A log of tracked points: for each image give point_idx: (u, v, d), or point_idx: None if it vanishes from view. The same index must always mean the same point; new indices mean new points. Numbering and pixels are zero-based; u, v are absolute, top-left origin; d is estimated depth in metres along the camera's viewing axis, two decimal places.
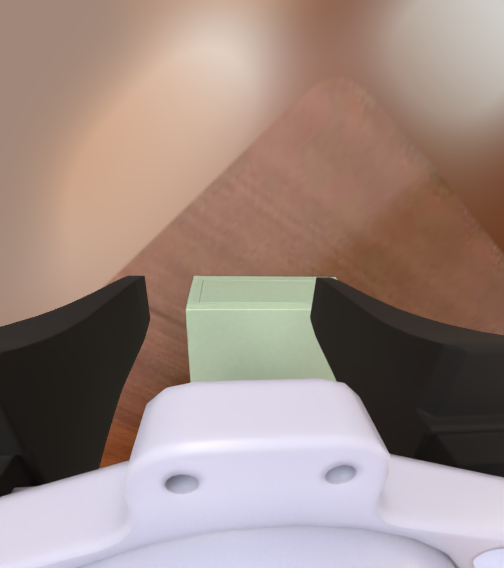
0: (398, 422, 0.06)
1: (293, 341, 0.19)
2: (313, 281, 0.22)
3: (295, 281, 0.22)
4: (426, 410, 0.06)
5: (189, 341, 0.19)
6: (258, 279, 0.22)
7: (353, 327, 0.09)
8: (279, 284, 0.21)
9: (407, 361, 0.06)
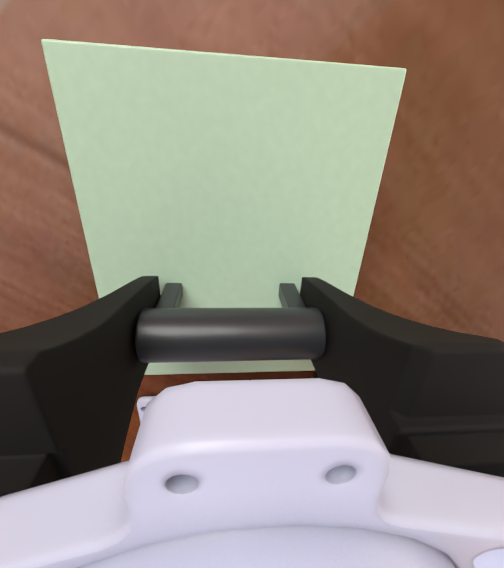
0: None
1: (273, 147, 0.10)
2: None
3: None
4: (398, 411, 0.06)
5: (64, 133, 0.09)
6: None
7: (334, 327, 0.09)
8: None
9: (380, 362, 0.06)
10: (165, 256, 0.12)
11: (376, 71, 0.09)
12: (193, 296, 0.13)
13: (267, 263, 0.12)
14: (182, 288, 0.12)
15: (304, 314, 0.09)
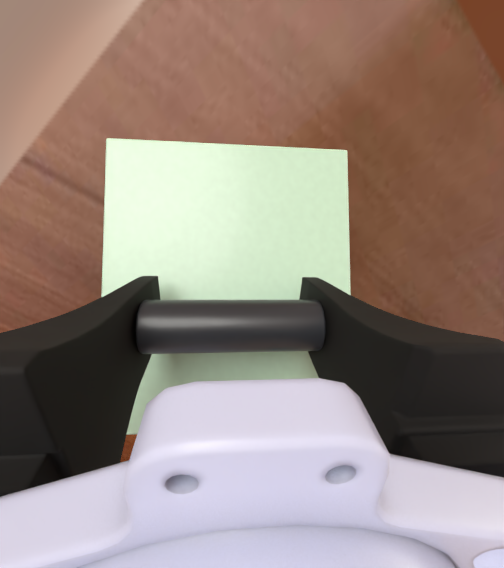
0: (373, 423, 0.06)
1: (262, 197, 0.13)
2: None
3: None
4: (399, 411, 0.06)
5: (106, 190, 0.13)
6: None
7: (334, 327, 0.09)
8: None
9: (381, 362, 0.06)
10: (170, 286, 0.13)
11: (327, 152, 0.14)
12: None
13: (264, 291, 0.13)
14: None
15: (300, 300, 0.10)
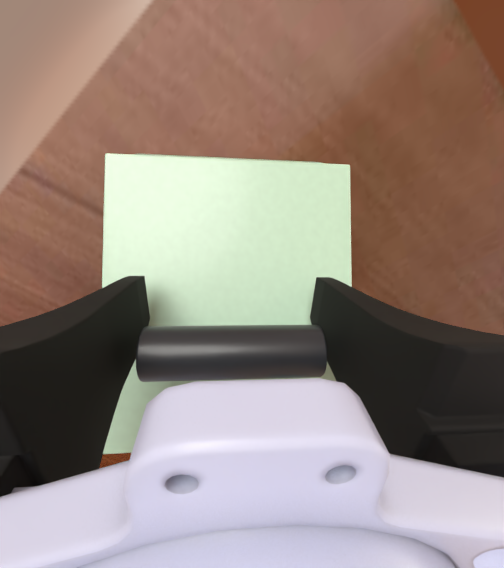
0: (398, 422, 0.06)
1: (263, 213, 0.13)
2: (290, 161, 0.17)
3: (267, 160, 0.17)
4: (426, 410, 0.06)
5: (106, 206, 0.13)
6: None
7: (353, 327, 0.09)
8: None
9: (407, 361, 0.06)
10: (171, 304, 0.13)
11: (329, 166, 0.14)
12: None
13: (265, 309, 0.13)
14: None
15: (302, 326, 0.10)
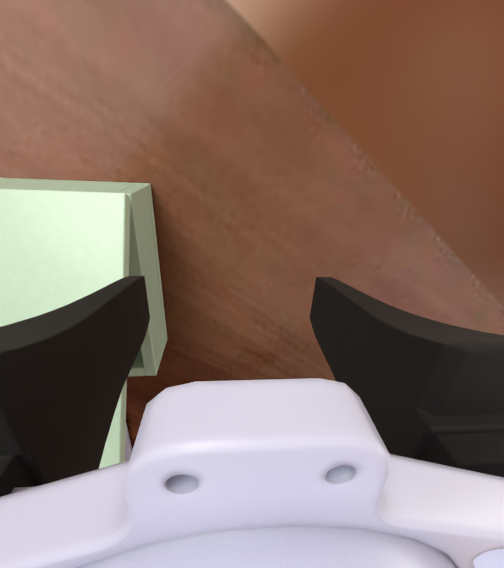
0: (398, 422, 0.06)
1: (28, 243, 0.13)
2: (111, 184, 0.17)
3: (86, 183, 0.17)
4: (425, 410, 0.06)
5: None
6: (38, 180, 0.17)
7: (353, 327, 0.09)
8: (56, 183, 0.16)
9: (407, 361, 0.06)
10: None
11: (102, 195, 0.14)
12: None
13: None
14: None
15: None
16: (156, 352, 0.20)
